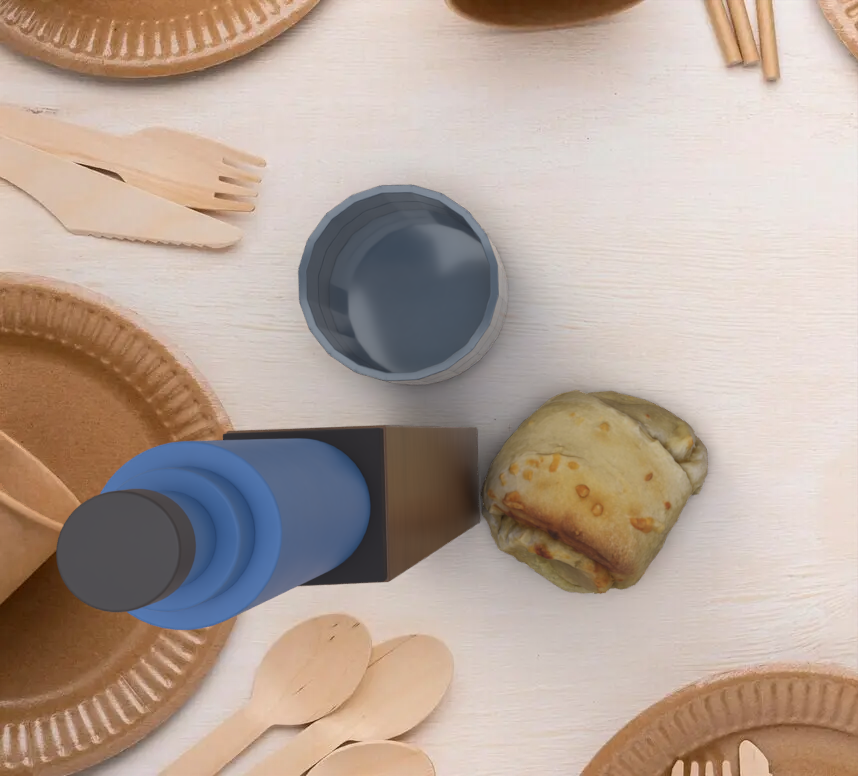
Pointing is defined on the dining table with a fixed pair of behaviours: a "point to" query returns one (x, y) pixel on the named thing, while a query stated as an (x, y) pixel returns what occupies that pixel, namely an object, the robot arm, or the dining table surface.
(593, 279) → the dining table surface
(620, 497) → the pastry
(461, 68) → the dining table surface
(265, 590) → the bottle
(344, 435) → the mat
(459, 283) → the bowl
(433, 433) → the pedestal
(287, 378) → the dining table surface
